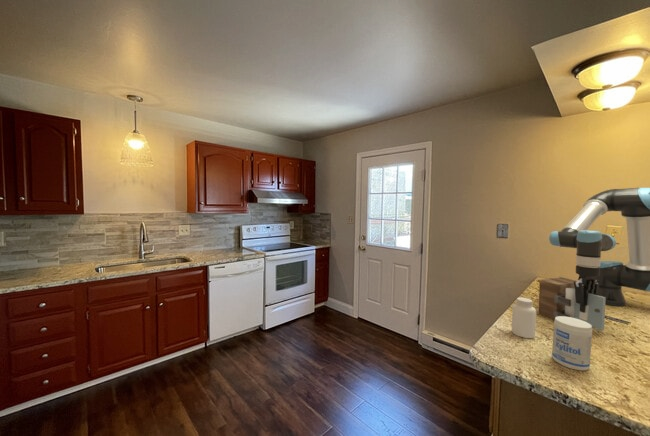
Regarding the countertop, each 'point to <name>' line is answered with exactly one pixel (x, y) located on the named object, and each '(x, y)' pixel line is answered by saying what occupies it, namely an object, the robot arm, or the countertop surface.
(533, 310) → the pill bottle
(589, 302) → the door
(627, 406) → the countertop surface
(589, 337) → the supplement tub
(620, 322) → the pliers
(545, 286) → the cabinet
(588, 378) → the countertop surface
